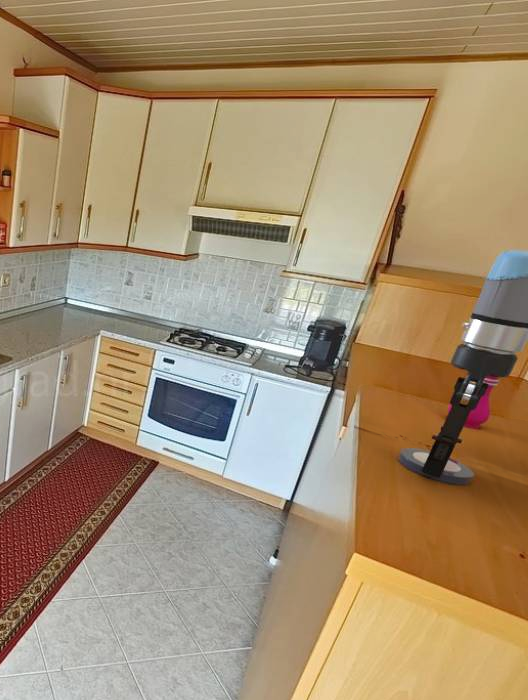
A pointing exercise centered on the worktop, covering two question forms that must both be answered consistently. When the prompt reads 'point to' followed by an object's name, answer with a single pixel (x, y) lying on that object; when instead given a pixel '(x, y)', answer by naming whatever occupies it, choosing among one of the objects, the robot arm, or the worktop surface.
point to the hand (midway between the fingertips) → (431, 473)
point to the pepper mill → (481, 406)
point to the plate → (452, 470)
